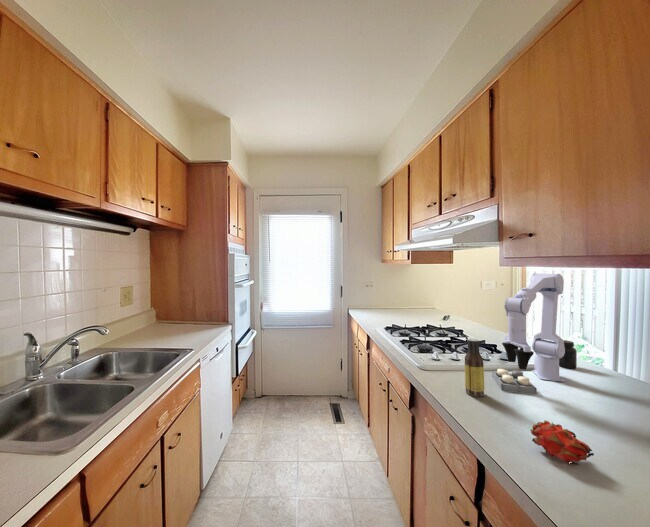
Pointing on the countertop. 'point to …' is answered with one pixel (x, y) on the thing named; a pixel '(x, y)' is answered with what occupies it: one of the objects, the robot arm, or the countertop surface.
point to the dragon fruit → (560, 442)
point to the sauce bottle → (474, 369)
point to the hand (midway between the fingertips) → (517, 365)
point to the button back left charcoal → (516, 373)
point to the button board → (514, 385)
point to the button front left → (523, 380)
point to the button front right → (507, 379)
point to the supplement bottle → (569, 356)
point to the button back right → (502, 372)
